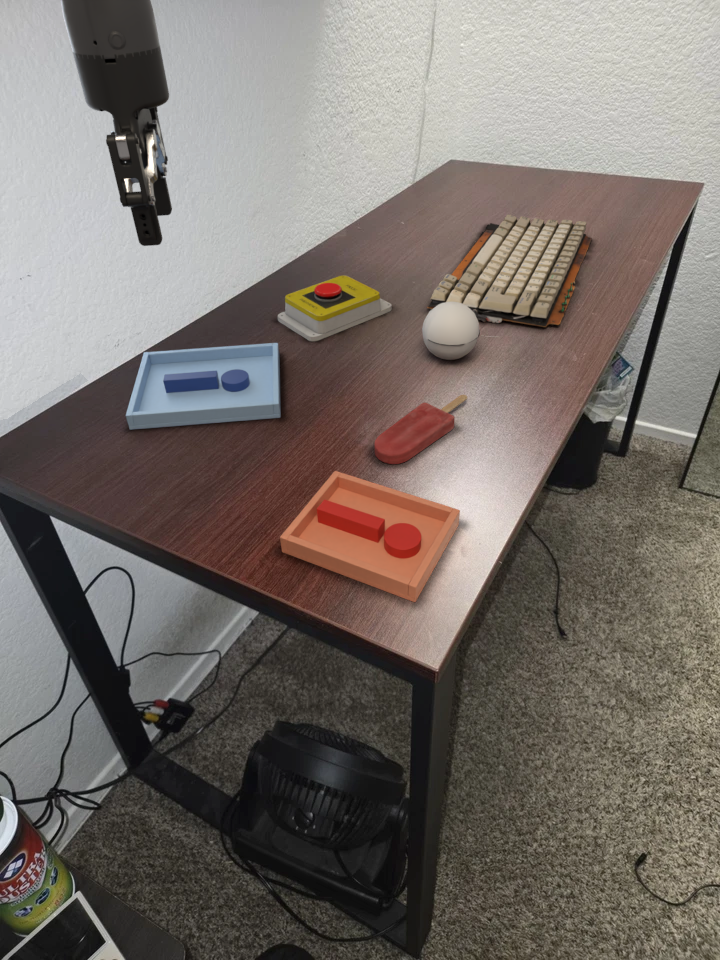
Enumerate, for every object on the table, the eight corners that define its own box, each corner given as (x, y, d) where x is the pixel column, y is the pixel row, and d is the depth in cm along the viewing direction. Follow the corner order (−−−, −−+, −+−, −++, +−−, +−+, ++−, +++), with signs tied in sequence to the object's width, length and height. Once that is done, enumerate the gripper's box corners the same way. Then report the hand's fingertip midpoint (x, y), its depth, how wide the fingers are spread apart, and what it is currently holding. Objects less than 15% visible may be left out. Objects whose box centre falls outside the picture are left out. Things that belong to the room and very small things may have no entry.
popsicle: (481, 396, 76) (396, 459, 68) (480, 408, 77) (396, 472, 69) (450, 382, 78) (365, 441, 70) (449, 394, 79) (365, 454, 72)
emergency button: (271, 290, 93) (354, 262, 100) (275, 319, 96) (355, 289, 103) (310, 313, 87) (394, 281, 94) (312, 342, 90) (394, 309, 97)
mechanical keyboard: (487, 225, 122) (489, 206, 120) (593, 238, 116) (597, 219, 114) (424, 315, 96) (426, 293, 94) (557, 337, 90) (561, 314, 88)
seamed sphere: (410, 362, 86) (412, 310, 81) (436, 337, 90) (438, 287, 86) (482, 382, 82) (488, 328, 77) (504, 355, 86) (511, 303, 82)
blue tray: (129, 429, 76) (125, 415, 74) (147, 365, 87) (143, 352, 85) (280, 417, 77) (278, 403, 76) (279, 355, 88) (277, 342, 86)
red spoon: (312, 528, 62) (311, 515, 61) (330, 506, 64) (329, 492, 63) (412, 563, 59) (412, 549, 57) (426, 538, 61) (427, 524, 60)
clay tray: (281, 552, 61) (279, 537, 59) (335, 485, 68) (334, 470, 66) (415, 602, 56) (416, 587, 55) (458, 525, 63) (460, 509, 61)
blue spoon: (165, 397, 80) (162, 385, 79) (168, 382, 82) (165, 370, 81) (249, 390, 80) (247, 378, 79) (250, 376, 83) (248, 363, 82)
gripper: (89, 34, 63) (131, 208, 74) (52, 59, 52) (108, 258, 63) (168, 31, 64) (199, 204, 74) (147, 54, 53) (187, 253, 63)
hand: (157, 228), depth 69 cm, fingers open, 8 cm apart
